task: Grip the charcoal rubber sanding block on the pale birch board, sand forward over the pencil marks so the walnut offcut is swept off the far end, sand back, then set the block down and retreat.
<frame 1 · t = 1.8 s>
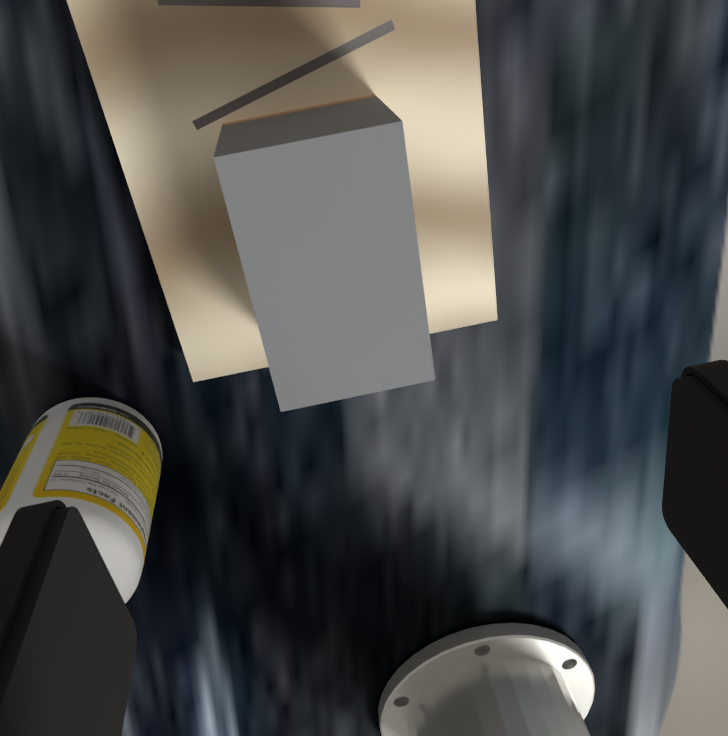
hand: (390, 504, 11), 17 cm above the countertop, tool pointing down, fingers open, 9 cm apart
supplement bottle: (100, 445, 29), on the countertop
birch board: (284, 38, 23), on the countertop
sanding block: (322, 227, 24), point 1 cm above the countertop, touching birch board
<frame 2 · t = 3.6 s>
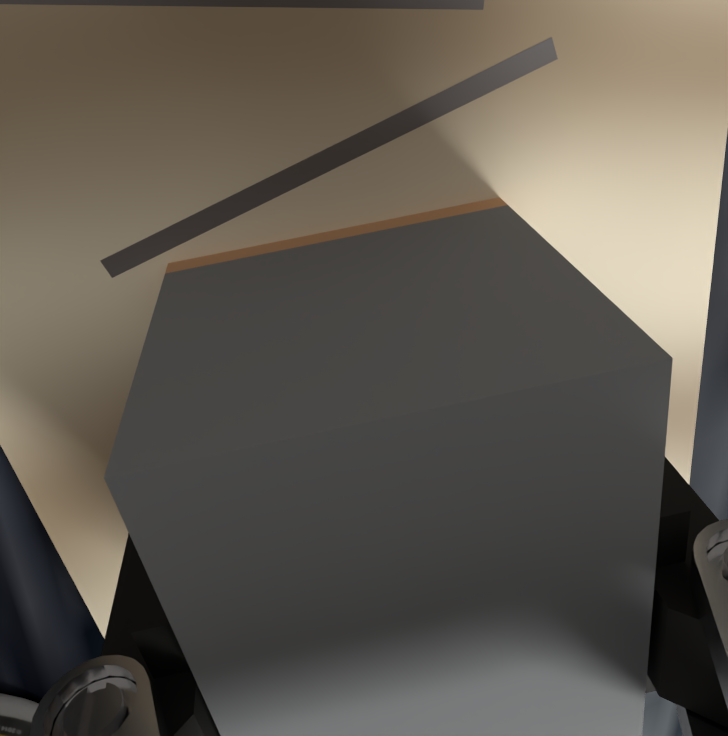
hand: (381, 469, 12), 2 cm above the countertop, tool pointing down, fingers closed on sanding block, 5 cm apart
birch board: (302, 73, 11), on the countertop
sanding block: (375, 443, 12), point 2 cm above the countertop, touching birch board, gripper
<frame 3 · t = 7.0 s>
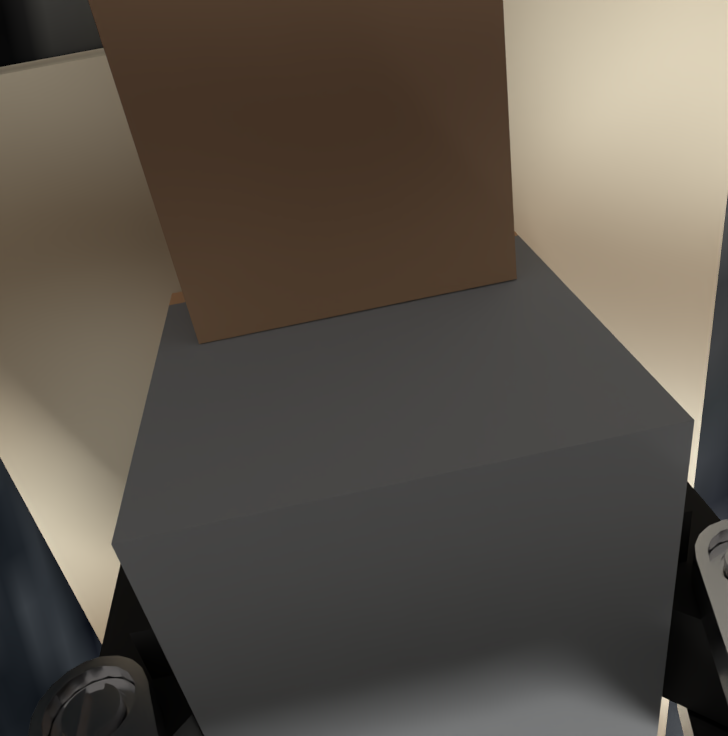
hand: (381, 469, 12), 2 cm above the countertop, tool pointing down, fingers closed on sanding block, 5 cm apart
birch board: (393, 555, 16), on the countertop
sanding block: (381, 469, 12), point 2 cm above the countertop, touching gripper, walnut offcut
walnut offcut: (315, 114, 9), point 1 cm above the countertop, touching birch board, sanding block
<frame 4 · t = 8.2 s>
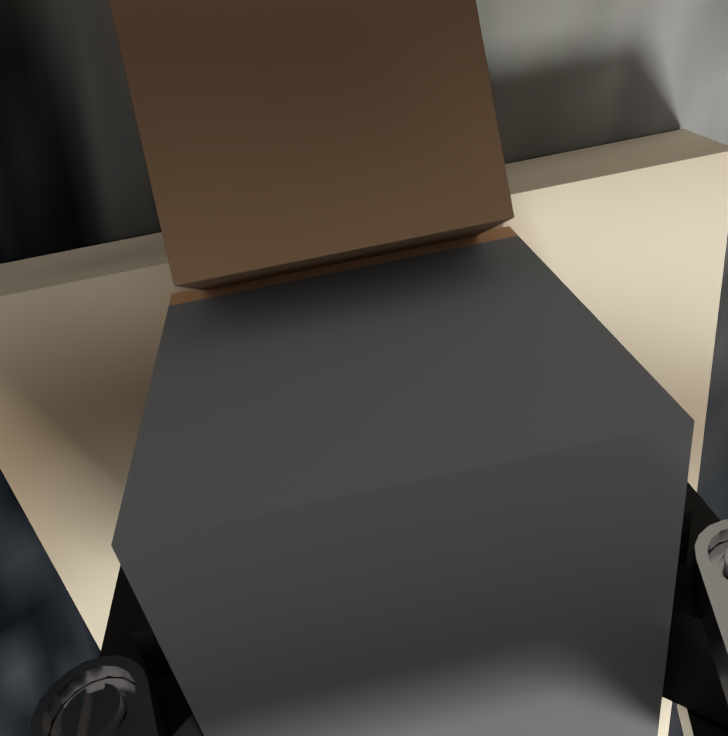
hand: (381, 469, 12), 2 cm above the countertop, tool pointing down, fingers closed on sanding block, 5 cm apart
birch board: (409, 638, 17), on the countertop
sanding block: (381, 470, 12), point 2 cm above the countertop, touching gripper, walnut offcut
walnut offcut: (313, 122, 10), point 1 cm above the countertop, tilted 25°, touching birch board, sanding block
when the fingers open (4 cm above the countertop, at t = 11.2 s): sanding block drops 2 cm, resting on birch board.
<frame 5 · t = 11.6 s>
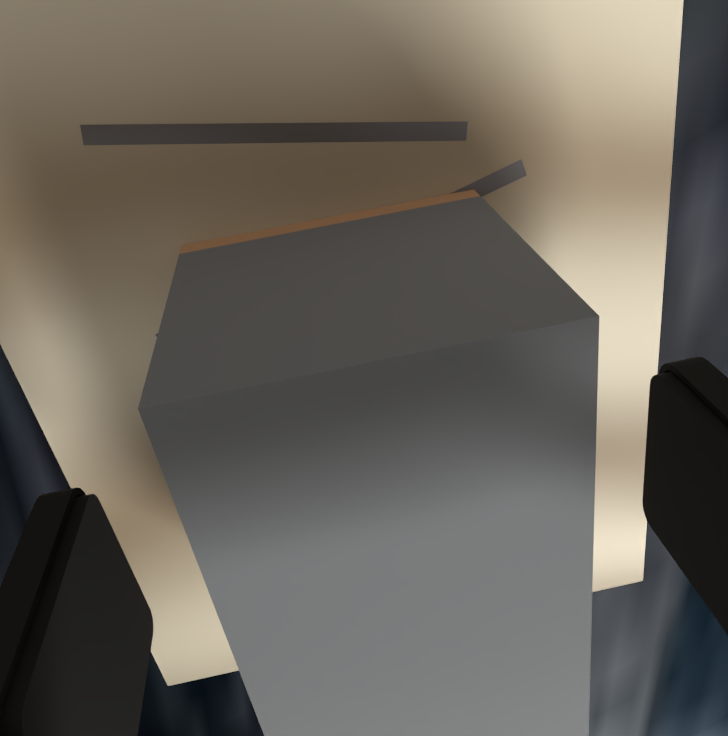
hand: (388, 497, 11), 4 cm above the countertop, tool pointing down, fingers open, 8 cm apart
birch board: (319, 177, 13), on the countertop
sanding block: (364, 411, 14), point 2 cm above the countertop, touching birch board
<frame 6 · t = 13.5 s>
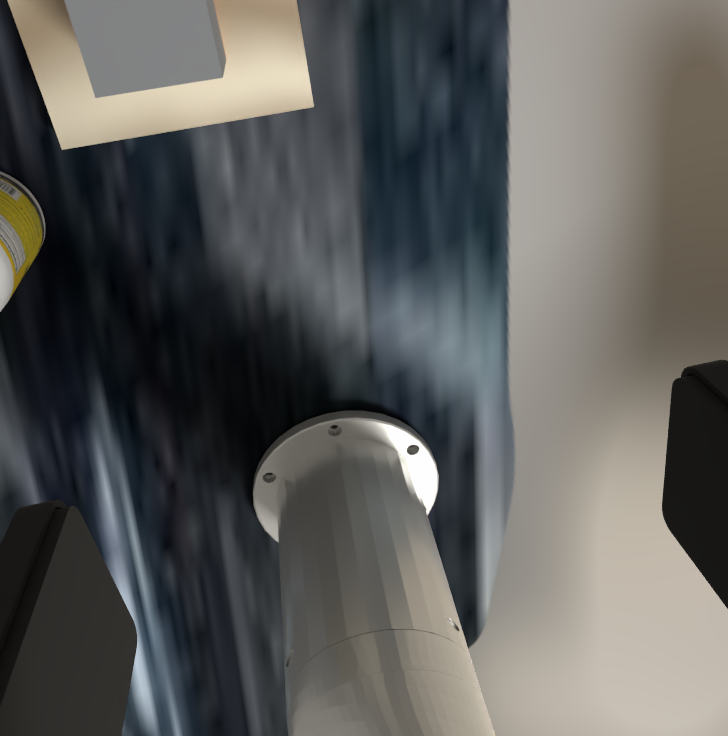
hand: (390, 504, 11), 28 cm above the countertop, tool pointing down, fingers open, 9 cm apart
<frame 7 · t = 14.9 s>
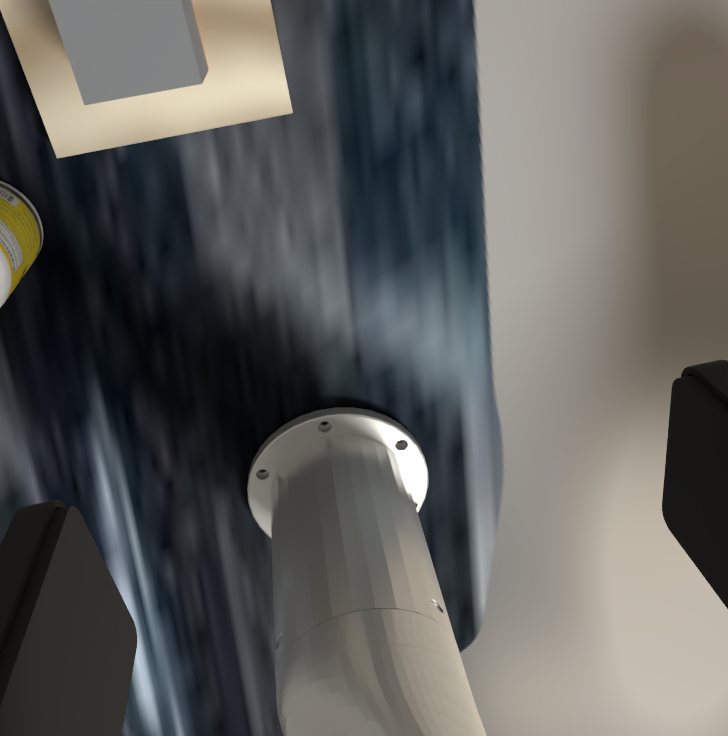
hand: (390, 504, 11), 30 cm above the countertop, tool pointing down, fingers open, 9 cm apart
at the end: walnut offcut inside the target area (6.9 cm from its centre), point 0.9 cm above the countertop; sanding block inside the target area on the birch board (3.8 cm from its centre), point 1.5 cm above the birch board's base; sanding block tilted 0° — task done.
